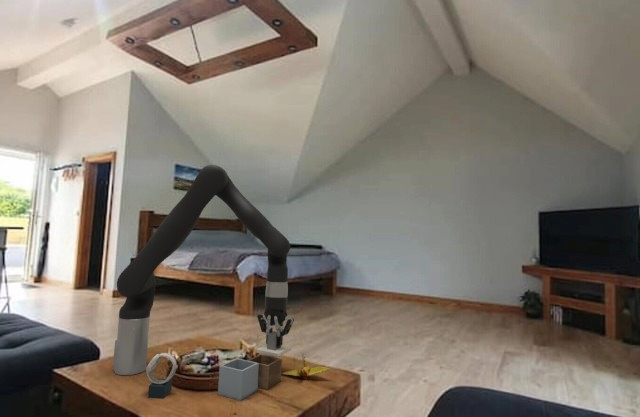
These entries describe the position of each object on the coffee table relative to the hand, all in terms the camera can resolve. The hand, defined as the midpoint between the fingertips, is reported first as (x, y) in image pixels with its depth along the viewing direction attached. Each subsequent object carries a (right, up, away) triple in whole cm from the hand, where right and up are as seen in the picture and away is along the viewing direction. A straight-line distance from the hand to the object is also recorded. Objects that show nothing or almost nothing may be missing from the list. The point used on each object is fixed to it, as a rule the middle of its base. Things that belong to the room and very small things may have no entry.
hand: (274, 346), depth 130 cm
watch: (-30, -6, -21) cm, 37 cm away
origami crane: (+10, -9, -4) cm, 14 cm away
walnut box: (-2, -8, -10) cm, 13 cm away
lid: (0, -2, 0) cm, 2 cm away
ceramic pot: (-8, -7, -18) cm, 21 cm away
